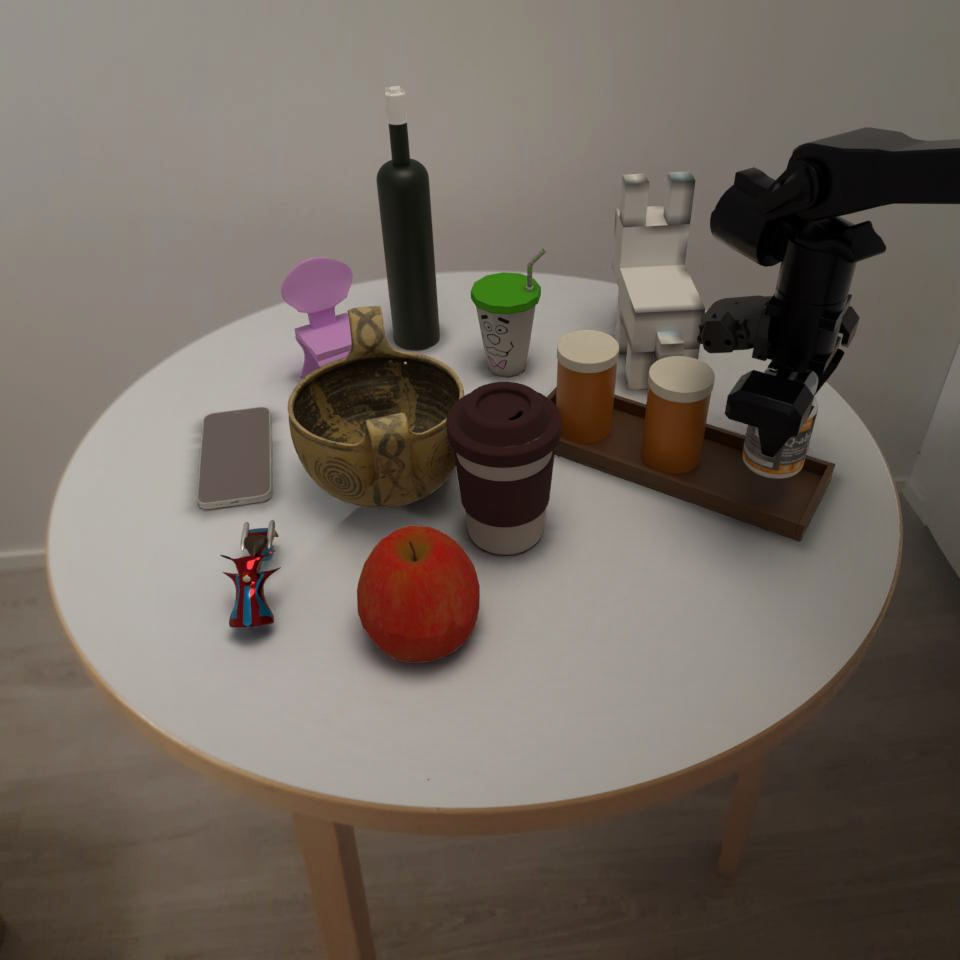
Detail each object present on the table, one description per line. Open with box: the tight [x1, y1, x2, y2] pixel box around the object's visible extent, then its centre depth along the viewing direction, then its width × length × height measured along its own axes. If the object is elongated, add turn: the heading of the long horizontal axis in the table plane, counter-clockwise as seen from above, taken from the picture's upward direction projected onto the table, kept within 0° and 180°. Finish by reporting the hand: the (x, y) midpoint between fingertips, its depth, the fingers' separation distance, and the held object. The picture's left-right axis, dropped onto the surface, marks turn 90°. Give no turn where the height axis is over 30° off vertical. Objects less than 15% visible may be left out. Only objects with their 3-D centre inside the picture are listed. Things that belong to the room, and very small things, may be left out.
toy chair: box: [280, 256, 353, 378], centre depth 101 cm, size 8×9×15 cm
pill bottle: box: [743, 368, 819, 479], centre depth 84 cm, size 6×6×10 cm
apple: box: [356, 524, 481, 664], centre depth 75 cm, size 10×10×10 cm
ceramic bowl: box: [287, 305, 465, 509], centre depth 88 cm, size 22×17×15 cm
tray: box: [546, 386, 836, 542], centre depth 93 cm, size 30×10×2 cm, turn 58°
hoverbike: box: [219, 519, 282, 629], centre depth 80 cm, size 5×12×6 cm, turn 5°
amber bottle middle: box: [641, 356, 716, 474], centre depth 90 cm, size 6×6×10 cm
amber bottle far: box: [556, 329, 620, 444], centre depth 95 cm, size 6×6×10 cm
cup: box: [470, 248, 546, 378], centre depth 103 cm, size 8×8×15 cm
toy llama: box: [611, 170, 706, 391], centre depth 102 cm, size 8×18×20 cm, turn 3°
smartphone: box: [196, 406, 273, 510], centre depth 96 cm, size 7×1×15 cm
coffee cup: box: [446, 381, 562, 556], centre depth 82 cm, size 10×10×15 cm
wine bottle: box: [375, 84, 441, 351], centre depth 103 cm, size 6×6×30 cm
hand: (778, 437), depth 85 cm, fingers closed on pill bottle, 5 cm apart
